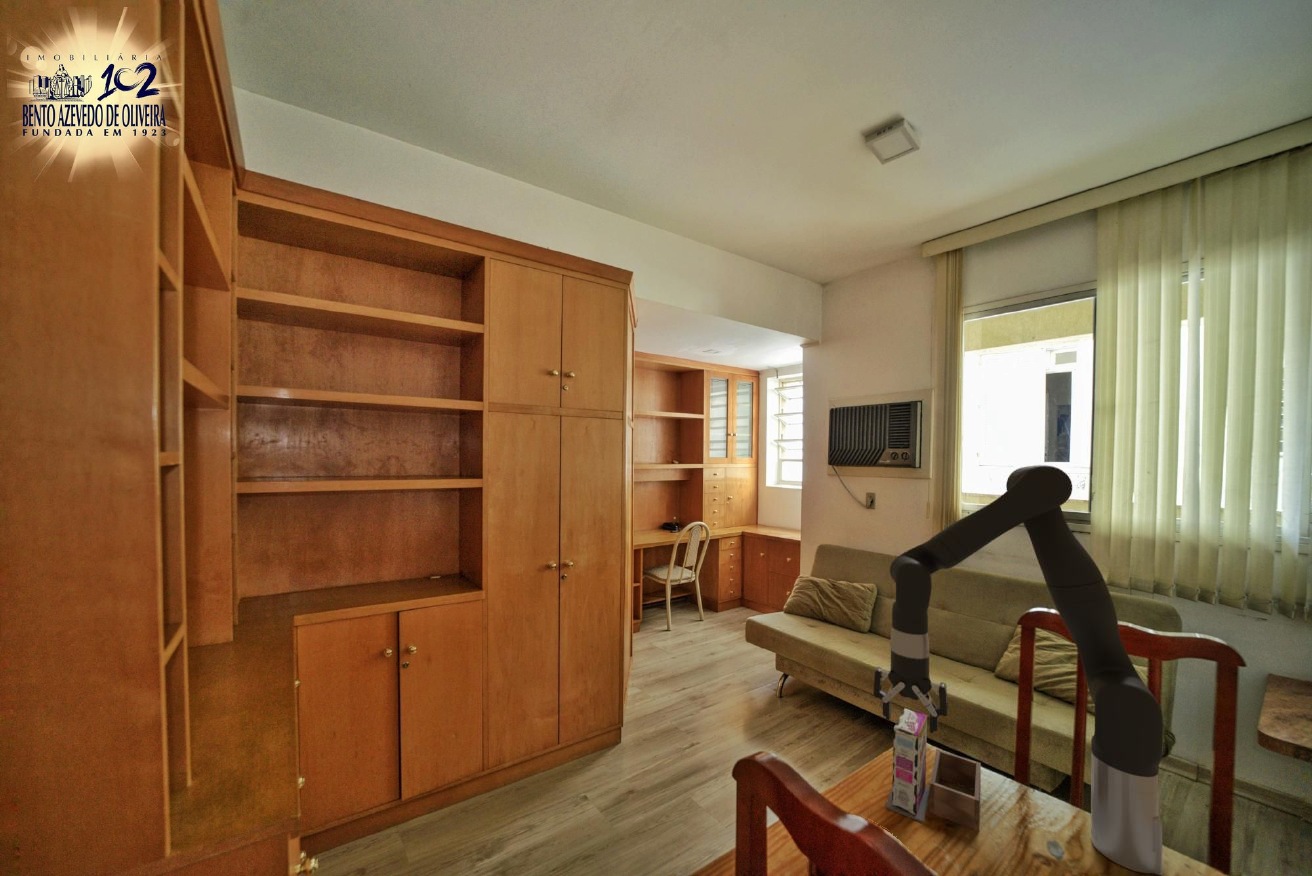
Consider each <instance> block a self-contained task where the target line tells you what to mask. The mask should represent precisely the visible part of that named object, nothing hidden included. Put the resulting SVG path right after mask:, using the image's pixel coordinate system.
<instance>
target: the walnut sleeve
mask: <svg viewBox="0 0 1312 876" xmlns="http://www.w3.org/2000/svg"><path fill="white" fill-rule="evenodd" d="M981 765H982V763H981V762H979V761H976V760H972V759H969V758H966V757H964V756H959V755H956V754H954V753H950V752H947V751H944V750H941V749H938V748H936V751H935V755H934V762H933V765H932V766H933V767H932V772H931V775H930V782H929V788H930V792H929V813H931V814H933V815H936V816H938V817H941V818H943V819H946V820H949V821H951V822H954V823H956V824H959V825H961V826H964V827H967V828H970V829H972V830H974V831H976V832H980V815H981V813H980V812H981V790H982V789H981V786H982V785H981V782H982V781H981V779H982V778H981V776H982V774H981V773H982V772H981V771H982V770H981V768H982V766H981ZM941 779H942V780H944V781H947V782H951V783H953V784H955V785H959V786H962V787H964V788H967V789H971V790H973V791H974V796H973V795H970V794H967V793H964V792H962V791H959V790H956V789H953V788H950V787H948V786H945V785H942V784H940V781H941Z"/></svg>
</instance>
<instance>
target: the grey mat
mask: <svg viewBox="0 0 1312 876" xmlns="http://www.w3.org/2000/svg"><path fill="white" fill-rule="evenodd" d="M929 798H930V787H927V786H925V790H924V793H923V796H922V799H921V802H920V805H919V808H918V811H917V814H916V815H913V814H910V813H908V812H906V811H904V810H902V809H899V808H897V807H895V806H893V805H892V787H891V788H890V791H889V795H888V798H887V802H886V805H885V808H886V809H887V810H891V811H892V812H896V813H897V814H900V815H903V816H905V817H906V818H910V819H913V820H915V821H918V822H920V823H922V824H924V823H925V817H926V813H927V809H928V801H929Z"/></svg>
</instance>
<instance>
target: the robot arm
mask: <svg viewBox="0 0 1312 876" xmlns="http://www.w3.org/2000/svg"><path fill="white" fill-rule="evenodd" d="M1005 486H1006V487H1005V488H1006V491H1005V492H1004V493H1002V495H1001V496H999V497H997V498H996V499H995V500H994V501H991V502H990V503H989V504H986V505H985V506H984V507H982V508H980V509H978V510H976V511H974V512H972V513H970V514H968V515H966V516H964V517H962V518H960V519H959V520H957V521H955V522H953V523H951V524H950V525H948V526H947V527H945V528H944V529H943V530H940V531H939V532H938V533H937V534H935V535H934V536H932V537H931V538H930V539H929V540H927V541H926V542H923V543H921V544H919V545H917V546H914V547H912V548H909V549H908V550H906V551H904V552H903V553H901V554H900V555H898V556H897V557H896V558H894V559H893V561H891V564H890V566H889V575H890V576H891V579H892V580H893V582H895V601H894V602H893V604H892V607H891V632H890V642H889V647H890V670H889V671H887V670H884V669H882V667H881V666H878V667H877V668H876V670H875V672H874V678H873V680H874V682H873V692H872V693H873V694H872V695H873V697H875V698H876V699H877V698H878V699H879V700H881V701H882V715H883V717H885V720H887V721H890V720H891V715H892V706H891V705H892V699H894V697H895V696H897V695H898V694H899V695H900V697H902V698H909V699H911V700H914V701H918V700H919V701H921V703H922V705H923V706H924V707H925V708H926V709H927V711H928V712H929V733H931V734H934V733H935V732H937V731H938V728H939V716H940V717H941V716H942V717H947V716H948V711H949V705H948V704H949V703H948V691H947V689H948V687H947V684H946V683H945V682H940V683H936V682H932V681H931V679H930V638H929V620H928V619H929V615H928V614H929V613H928V610H929V606H930V600H931V595H932V588H933V587H932V576H931V575H932V574H935V573H936V572H938V571H940V570H942V569H943V570H944V569H945V570H949V569H952V568H953V567H956V566H957V565H959V564H960V563H962V562H964V561H965V560H966V559H968V558H969V557H971V556H972V555H973V554H976V552H978V551H980V550H981V549H982V548H984V547H986V546H987V545H988V544H990V543H991V542H993V541H994V540H996V539H997V538H1000V537H1001V536H1002V535H1004V534H1006V533H1007V532H1009V531H1011V530H1013V529H1014V528H1016V527H1018V526H1020V525H1022V524H1023V526H1024V529H1025V530H1026V533H1027V534H1028V536H1029V540H1030V542H1031V546H1032V549H1033V551H1034V553H1035V554H1034V555H1035V556H1036V559H1037V562H1038V564H1039V567H1040V570H1041V572H1042V575H1043V578H1044V581H1045V584H1046V588H1047V589H1048V592H1049V594H1050V597H1051V600H1052V602H1053V604H1054V606H1055V608H1056V611H1057V612H1058V614H1059V616H1060V618H1061V620H1062V622H1063V624H1064V626H1065V628H1066V629H1067V631H1068V632H1069V635H1070V636H1071V637H1072V640H1073V642H1074V643H1075V645H1076V648H1077V651H1078V653H1079V658H1080V661H1081V664H1082V667H1083V672H1084V674H1085V679H1086V682H1087V687H1088V692H1089V696H1090V698H1091V700H1092V702H1093V704H1094V734H1093V735H1092V736H1091V740H1090V741H1091V742H1090V746H1091V747H1090V755H1091V756H1090V762H1091V763H1090V769H1091V770H1090V776H1091V777H1090V779H1091V780H1090V789H1091V790H1090V796H1091V797H1090V798H1091V799H1090V814H1091V815H1090V818H1091V819H1090V836H1091V837H1090V840H1091V842H1092V845H1093V846H1094V847H1095V848H1096V850H1097V851H1098V852H1100V853H1101V854H1102V855H1103V856H1105V857H1106V858H1107V859H1109V860H1110V861H1112V862H1114V863H1115V864H1117V865H1119V866H1122V868H1124V869H1125V868H1126V869H1129V870H1130V871H1134V872H1137V873H1142V874H1155V875H1158V876H1160V875H1162V876H1163V822H1162V820H1161V818H1160V815H1159V765H1160V764H1161V761H1162V759H1163V744H1164V743H1163V742H1164V741H1163V740H1164V716H1163V710H1162V708H1161V705H1160V702H1158V700H1157V699H1156V696H1154V694H1153V693H1152V691H1151V690H1150V689H1149V688H1148V687H1147V685H1146V684H1145V683H1144V681H1143V679H1142V678H1141V677H1140V675H1139V673H1138V671H1137V670H1136V668H1135V666H1134V664H1133V662H1132V661H1131V658H1130V656H1129V654H1128V652H1127V651H1126V649H1125V648H1126V647H1125V646H1124V643H1123V642H1122V641H1123V640H1122V638H1121V634H1120V627H1119V622H1118V621H1119V620H1118V616H1117V612H1116V609H1115V604H1114V601H1113V598H1112V596H1111V592H1110V590H1109V588H1108V585H1107V583H1106V580H1105V578H1104V576H1103V574H1102V573H1101V570H1100V569H1099V567H1098V565H1097V564H1096V562H1095V561H1094V559H1093V558H1092V556H1091V555H1090V553H1089V552H1088V551H1087V550H1086V549H1085V547H1084V546H1083V545H1082V544H1081V542H1080V541H1079V539H1077V537H1076V536H1075V534H1074V533H1073V531H1072V530H1071V528H1070V526H1069V525H1068V522H1067V521H1066V518H1065V515H1064V512H1063V510H1062V505H1064V504H1065V503H1066V502H1067V501H1068V500H1069V499H1070V497H1071V496H1072V492H1073V482H1072V480H1071V478H1070V477H1069V475H1068V474H1067V473H1066V472H1065V471H1064V470H1063V469H1060V468H1059V467H1055V466H1053V465H1049V464H1048V465H1047V464H1036V465H1028V466H1023V467H1019V468H1017V469H1015V470H1013V471H1012V472H1011V473H1010V475H1009V476H1007V479H1006V485H1005ZM886 679H888V680H889V681H890V683H891V686H890V687H889V689H888V690H886V692H884V691H883V690H882V687H883V685H882V684H883V681H885V680H886ZM931 689H932V690H934V692H935V694H936V695H937V696H939V706H937V705H936V703H935V702H934V701H933V699H932V696H931V695H930V694H929V692H930V691H931Z"/></svg>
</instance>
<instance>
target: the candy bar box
mask: <svg viewBox="0 0 1312 876" xmlns="http://www.w3.org/2000/svg"><path fill="white" fill-rule="evenodd" d="M927 735H928V714H924V713H921V712H918V711H914V710H911V709H909V708H906V707H904V709H903V711H902V712H901V714H900V716H899V717H898V720H897V721H896V723H895V725H894V726H893V744H892V745H893V747H892V749H893V750H892V751H893V752H892V754H893V755H892V783H891V784H892V786H891V788H892V805H893V806H895V807H897V808H899V809H902V810H904V811H906V812H908V813H910V814H913V815H916V814H917V811H918V808H919V805H920V802H921V799H922V796H923V793H924V790H925V786H926V783H927V782H926V779H927V778H926V775H927V773H926V772H927V769H926V768H927V738H928V736H927ZM926 787H927V786H926Z"/></svg>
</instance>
